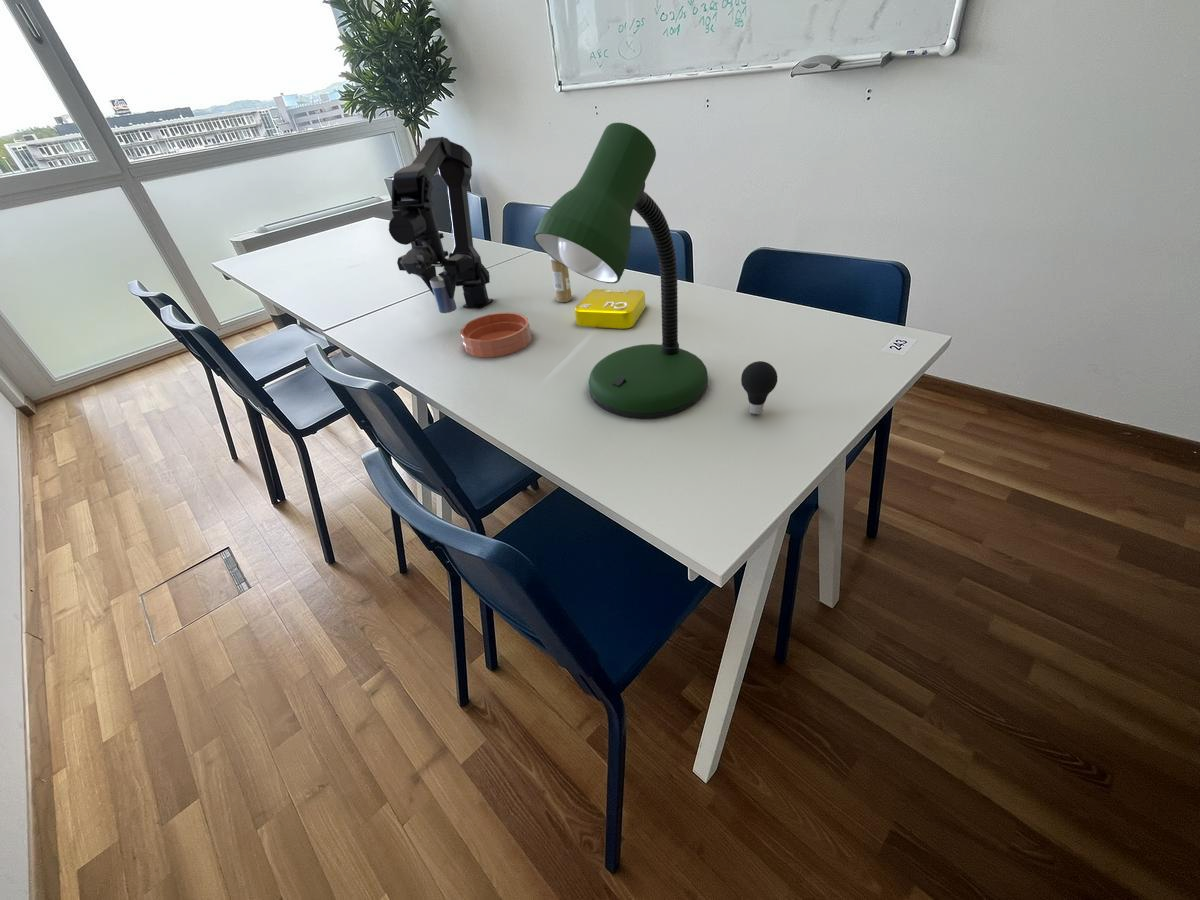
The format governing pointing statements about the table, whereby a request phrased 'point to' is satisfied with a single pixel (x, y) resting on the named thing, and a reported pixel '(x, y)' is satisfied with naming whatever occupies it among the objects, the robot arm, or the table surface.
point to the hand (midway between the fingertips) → (444, 297)
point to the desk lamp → (600, 252)
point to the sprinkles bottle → (561, 281)
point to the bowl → (496, 335)
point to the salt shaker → (442, 295)
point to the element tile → (610, 308)
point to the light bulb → (758, 384)
